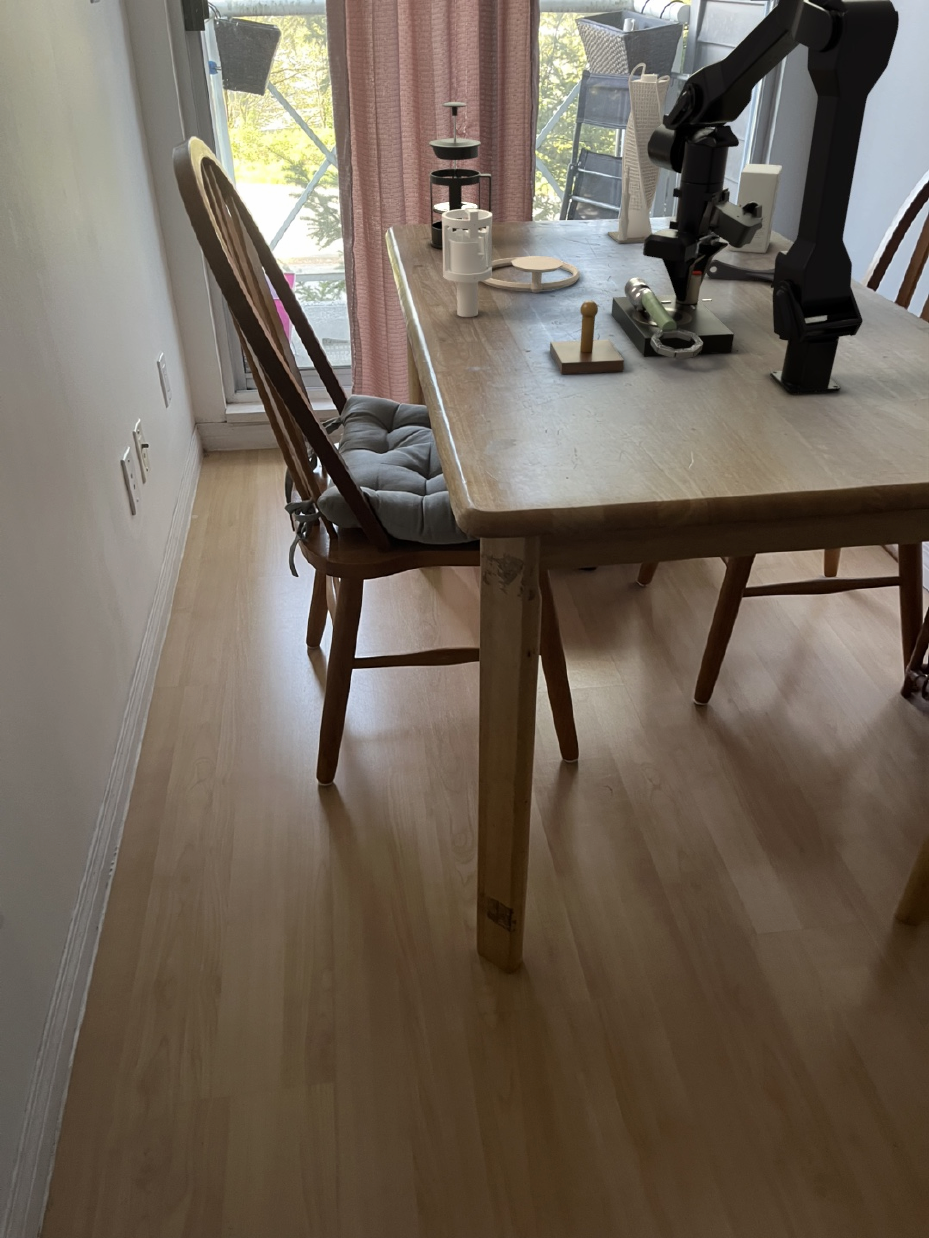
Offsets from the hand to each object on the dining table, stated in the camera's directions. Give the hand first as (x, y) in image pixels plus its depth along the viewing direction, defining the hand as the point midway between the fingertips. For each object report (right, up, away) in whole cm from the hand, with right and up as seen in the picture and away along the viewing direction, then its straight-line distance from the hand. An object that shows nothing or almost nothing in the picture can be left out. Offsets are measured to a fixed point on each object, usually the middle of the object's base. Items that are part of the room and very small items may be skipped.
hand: (686, 298), depth 136 cm
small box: (+20, +21, +35) cm, 46 cm away
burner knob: (0, 0, 0) cm, 0 cm away
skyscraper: (0, +26, +42) cm, 49 cm away
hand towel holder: (-21, +9, +19) cm, 30 cm away
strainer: (-32, -1, +4) cm, 32 cm away
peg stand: (-16, -13, -12) cm, 24 cm away
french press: (-33, +23, +38) cm, 55 cm away
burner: (-5, -4, -5) cm, 9 cm away
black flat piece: (+15, +9, +18) cm, 25 cm away
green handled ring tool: (-6, -7, -8) cm, 12 cm away
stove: (-3, -6, -3) cm, 7 cm away
